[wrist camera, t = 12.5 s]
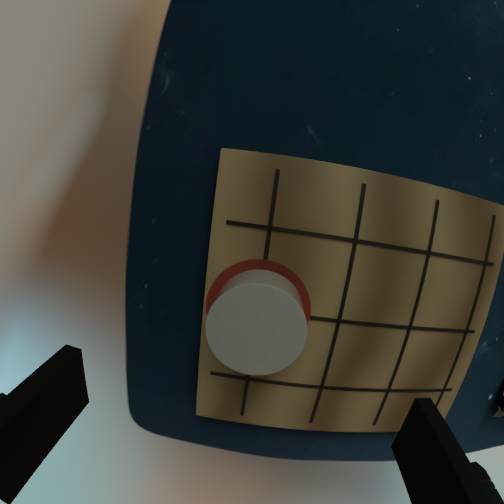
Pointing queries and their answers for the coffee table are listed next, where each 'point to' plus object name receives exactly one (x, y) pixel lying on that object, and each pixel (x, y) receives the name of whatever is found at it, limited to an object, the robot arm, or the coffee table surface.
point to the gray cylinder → (257, 323)
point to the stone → (499, 412)
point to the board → (351, 290)
